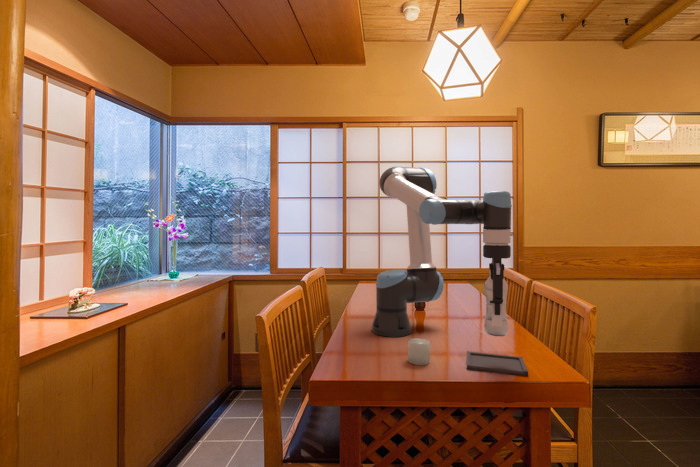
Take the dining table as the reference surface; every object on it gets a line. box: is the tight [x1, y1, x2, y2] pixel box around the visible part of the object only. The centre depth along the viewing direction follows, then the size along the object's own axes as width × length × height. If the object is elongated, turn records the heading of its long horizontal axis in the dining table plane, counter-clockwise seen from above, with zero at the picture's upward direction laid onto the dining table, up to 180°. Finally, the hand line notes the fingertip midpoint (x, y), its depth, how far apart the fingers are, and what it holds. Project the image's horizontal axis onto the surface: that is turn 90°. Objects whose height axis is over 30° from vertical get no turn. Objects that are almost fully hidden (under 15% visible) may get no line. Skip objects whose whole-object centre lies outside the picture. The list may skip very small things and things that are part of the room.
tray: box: [466, 351, 529, 377], centre depth 110 cm, size 16×12×1 cm
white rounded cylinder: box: [407, 337, 431, 366], centre depth 113 cm, size 6×6×6 cm
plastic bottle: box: [483, 270, 509, 337], centre depth 110 cm, size 6×7×20 cm
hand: (496, 322), depth 110 cm, fingers closed on plastic bottle, 6 cm apart
